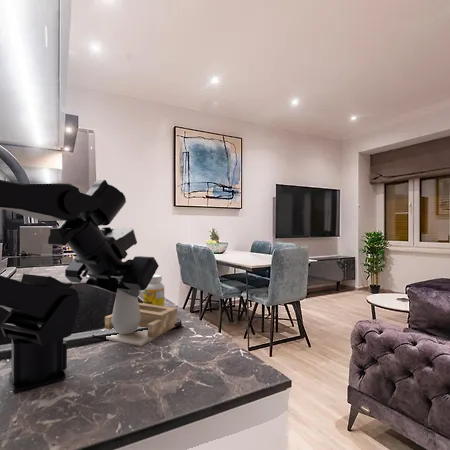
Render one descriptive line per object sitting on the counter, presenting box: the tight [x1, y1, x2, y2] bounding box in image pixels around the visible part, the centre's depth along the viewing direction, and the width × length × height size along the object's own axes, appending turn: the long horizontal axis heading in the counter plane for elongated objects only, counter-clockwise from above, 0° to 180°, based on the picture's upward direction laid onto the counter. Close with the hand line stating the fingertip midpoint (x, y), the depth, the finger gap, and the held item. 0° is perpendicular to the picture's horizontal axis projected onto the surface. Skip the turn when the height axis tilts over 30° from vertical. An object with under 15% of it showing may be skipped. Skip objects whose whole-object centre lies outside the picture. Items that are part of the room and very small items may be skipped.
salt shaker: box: [111, 278, 141, 334], centre depth 64 cm, size 6×6×13 cm
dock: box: [101, 302, 178, 347], centre depth 67 cm, size 13×12×4 cm
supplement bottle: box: [142, 274, 165, 306], centre depth 81 cm, size 5×5×10 cm
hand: (130, 294), depth 65 cm, fingers closed on salt shaker, 3 cm apart
